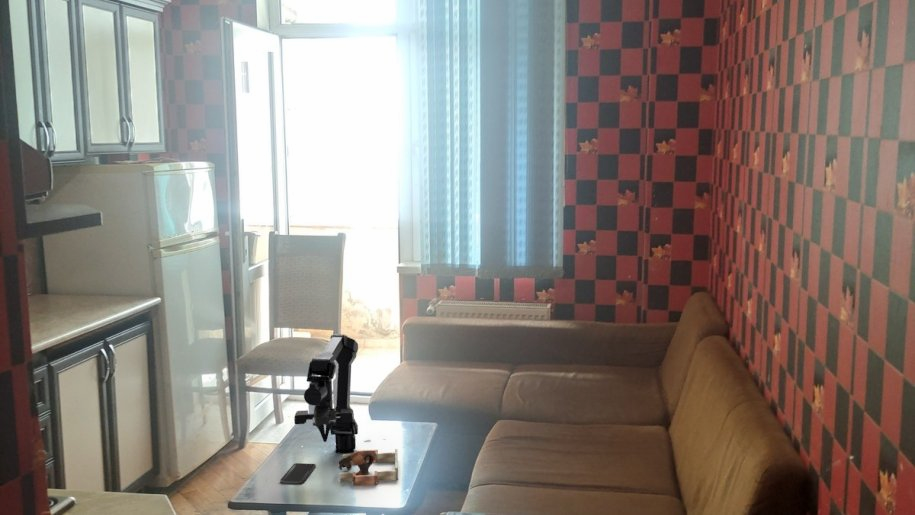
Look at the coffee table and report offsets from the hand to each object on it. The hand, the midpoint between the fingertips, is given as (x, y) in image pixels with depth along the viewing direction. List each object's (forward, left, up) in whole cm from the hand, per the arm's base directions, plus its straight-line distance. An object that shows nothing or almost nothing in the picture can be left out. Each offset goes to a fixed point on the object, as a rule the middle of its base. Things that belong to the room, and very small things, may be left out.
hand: (325, 441), depth 270 cm
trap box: (+14, 0, -11) cm, 18 cm away
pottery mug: (+10, -1, -11) cm, 15 cm away
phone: (-9, 0, -11) cm, 15 cm away
